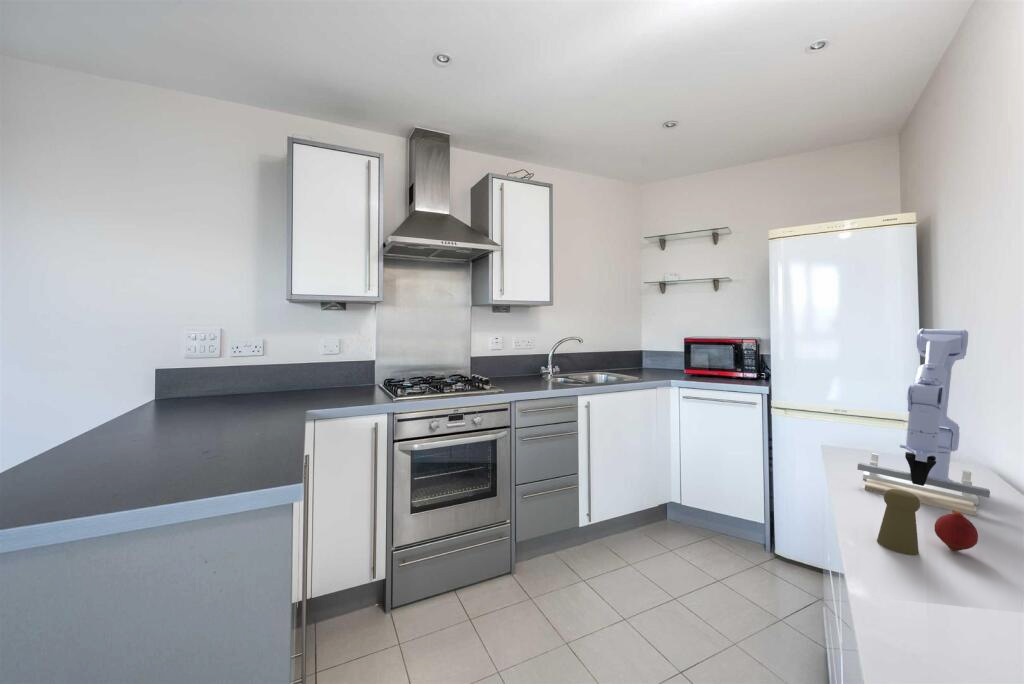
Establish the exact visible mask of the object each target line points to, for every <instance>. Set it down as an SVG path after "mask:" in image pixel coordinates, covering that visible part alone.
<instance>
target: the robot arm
mask: <svg viewBox="0 0 1024 684" xmlns="http://www.w3.org/2000/svg"><path fill="white" fill-rule="evenodd" d="M968 342H969V331H967V330H966V329H939V328H937V329H933V328H920V329H919V330H918V331H917V335H916V348H917V351H918V353H919V356H921V357H923V358H925V359H924V360H925V361H924V363H923V364H921V365H919V366H918V367H917V369H916V373H915V377H914V381H913V384H912V385H911V384H910V385H909V386H908V389H907V393H906V394H907V395H906V396H907V397H906V398H907V412H908V419H907V428H906V441H905V443H904V444H903V443H900V444H899V448H901V449H906V451H905V454H904V455H905V459H906V461H907V463H908V467H909V471H910V472H909V473H911V480H912V483H913V484H916V485H921V486H924V484H925V482H926V480H927V477H932V478H937V479H942V480H947V481H951V480H950V477H949V474H950V473H949V472H950V462H951V461H950V460H951V455H952V454H951V453H952V452H956V451H958V449H959V444H960V426H959V424H958V423H957V422H955V421H954V420H953V419H951V418H950V417H948V409H949V408H948V407H949V398H950V397H949V396H950V389H951V380H952V379H951V378H952V369H953V366H954V364H955V363H956V361H958V360H959V361H960V360H964V359H965V357H966V356H967V348H968V344H969V343H968Z"/></svg>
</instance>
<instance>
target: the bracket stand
mask: <svg viewBox="0 0 1024 684" xmlns="http://www.w3.org/2000/svg"><path fill="white" fill-rule="evenodd" d="M879 455H880V454H878V453H873V452H872V453H871V457H870V462H869V465H874V466H879ZM971 477H972V471H968V470H962V473H961V481H960V483H962V484H966V485H971V486H973V481H972V480H971V479H972V478H971ZM867 479H871V480H876V481H880V482H885V483H889V484H894V485H898V486H903V487H907V488H912V489H916V490H920V491H925V492H929V493H934V494H938V495H943V496H947V497H952V498H956V499H961V500H965V501H970V502H973V504H974V506H975V505H976V506H978V504H979V498H978V495H973V494H969V493H964V492H959V491H955V490H950V489H945V488H941V487H936V486H932V485H927V484H924V486H921V485H916V484H913V483H912V481H908V480H904V479H899V478H894V477H890V476H885V475H881V474H876V473H871V472H867V471H863V476H862V480H865V481H867Z"/></svg>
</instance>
